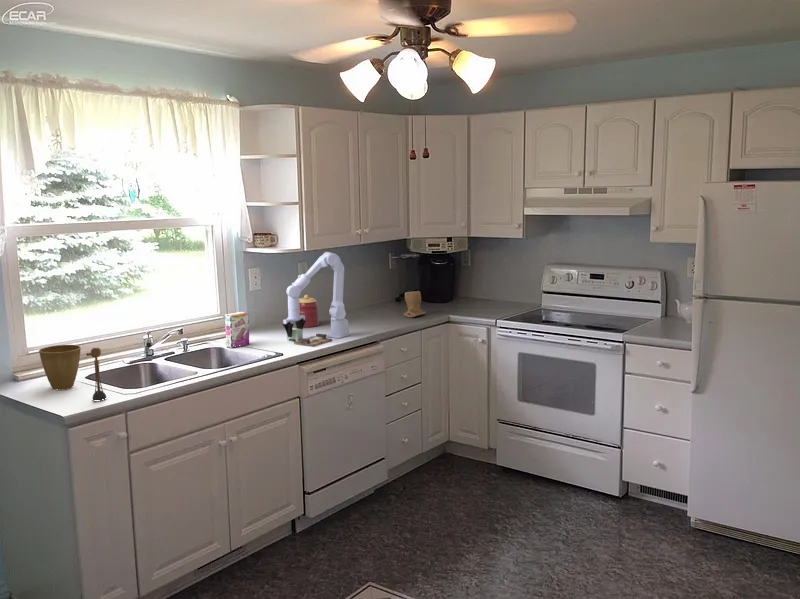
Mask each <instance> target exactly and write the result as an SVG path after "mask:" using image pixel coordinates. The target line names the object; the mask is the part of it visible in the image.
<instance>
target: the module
mask: <svg viewBox="0 0 800 599" xmlns="http://www.w3.org/2000/svg"><path fill="white" fill-rule="evenodd" d="M303 329H304V328H303ZM303 329H298V328H297V327H293V328H292V337H288V335H287V334H286V341H287V342H291V341H293V340H295V342H297V341H299V339H301V338H304V334H303Z"/></svg>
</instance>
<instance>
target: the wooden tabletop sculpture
mask: <svg viewBox="0 0 800 599" xmlns="http://www.w3.org/2000/svg"><path fill="white" fill-rule="evenodd" d="M101 354H102V351H101V348H99V347H98V346H95V347H92V349H90V352H87V353H86V357H89V356H90V357H92V358H94V360H93V361H94V374H95V375H94V376H95V389H94V393H93V394H92V398H91V399H93V400H102V399H105V398H106V397H107V395H106V393H105V392H104V390H103V387H102V383H101V382H102V381H101V373H100V372H101V371H100V362H99V359H98V358H99V357H100V356H101ZM93 400H92V401H93Z"/></svg>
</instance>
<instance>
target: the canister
mask: <svg viewBox="0 0 800 599" xmlns="http://www.w3.org/2000/svg"><path fill="white" fill-rule="evenodd" d="M318 306H319V303H317V299H315V297H309V295H308V294H305V295H304V296H303V297H299V308H300V316H302V315H303V316H305V319H304V320H306V322H305V324H304V326H303V328H315V327H318V326H319V323H320V320H319V308H318Z"/></svg>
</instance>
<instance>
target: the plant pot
mask: <svg viewBox="0 0 800 599" xmlns="http://www.w3.org/2000/svg"><path fill="white" fill-rule="evenodd" d="M81 348H82V346H80V345H77V344H61V345H60V344H59V345H58V344H57V345H50V346H46V347H43V348H40V349H39V350H38V353H39V357H40V361H41V364H42V367H43V370H44V374H45V376H46V378H47V380H48V383H49V385H50V386H51V388H53V389H52V390H54V389H58V390H57V391H60V390H59V389H65V390H68V389H67V388H70V389H72V388H73V387H74V385H75V381H76V379H77V375H78V370H79V365H80V360H81V358H80V357H81V350H82V349H81ZM72 386H73V387H72ZM71 387H72V388H71Z"/></svg>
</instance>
